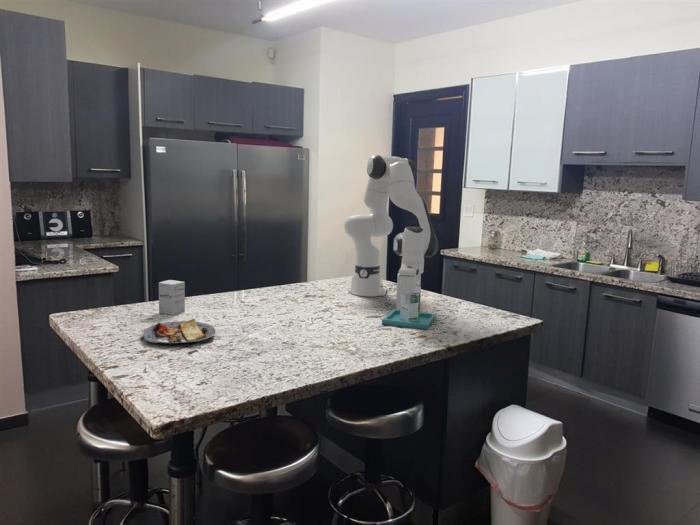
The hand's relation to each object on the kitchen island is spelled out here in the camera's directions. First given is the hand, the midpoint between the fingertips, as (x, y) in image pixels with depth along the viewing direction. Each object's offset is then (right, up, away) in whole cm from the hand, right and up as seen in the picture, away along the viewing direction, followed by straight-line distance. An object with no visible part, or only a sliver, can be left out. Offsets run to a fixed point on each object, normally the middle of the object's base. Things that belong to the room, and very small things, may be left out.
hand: (410, 301), depth 213 cm
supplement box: (-96, -5, +2) cm, 96 cm away
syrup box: (0, -8, +1) cm, 8 cm away
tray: (0, -8, +1) cm, 8 cm away
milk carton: (0, -5, +22) cm, 23 cm away
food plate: (-83, -10, -28) cm, 89 cm away
